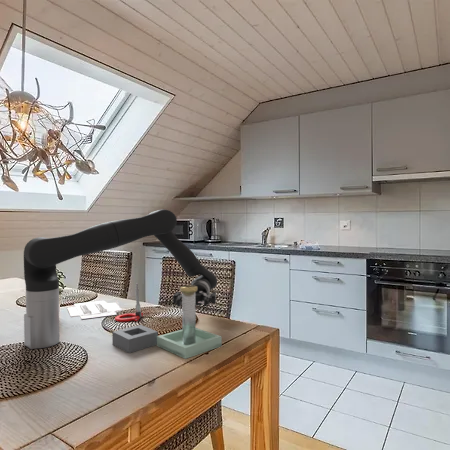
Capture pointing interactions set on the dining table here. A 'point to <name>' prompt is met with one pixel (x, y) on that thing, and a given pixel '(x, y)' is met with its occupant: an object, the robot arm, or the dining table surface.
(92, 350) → the dining table surface
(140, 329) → the socket block
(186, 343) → the steel pin
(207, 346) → the tray
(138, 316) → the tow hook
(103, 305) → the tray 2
